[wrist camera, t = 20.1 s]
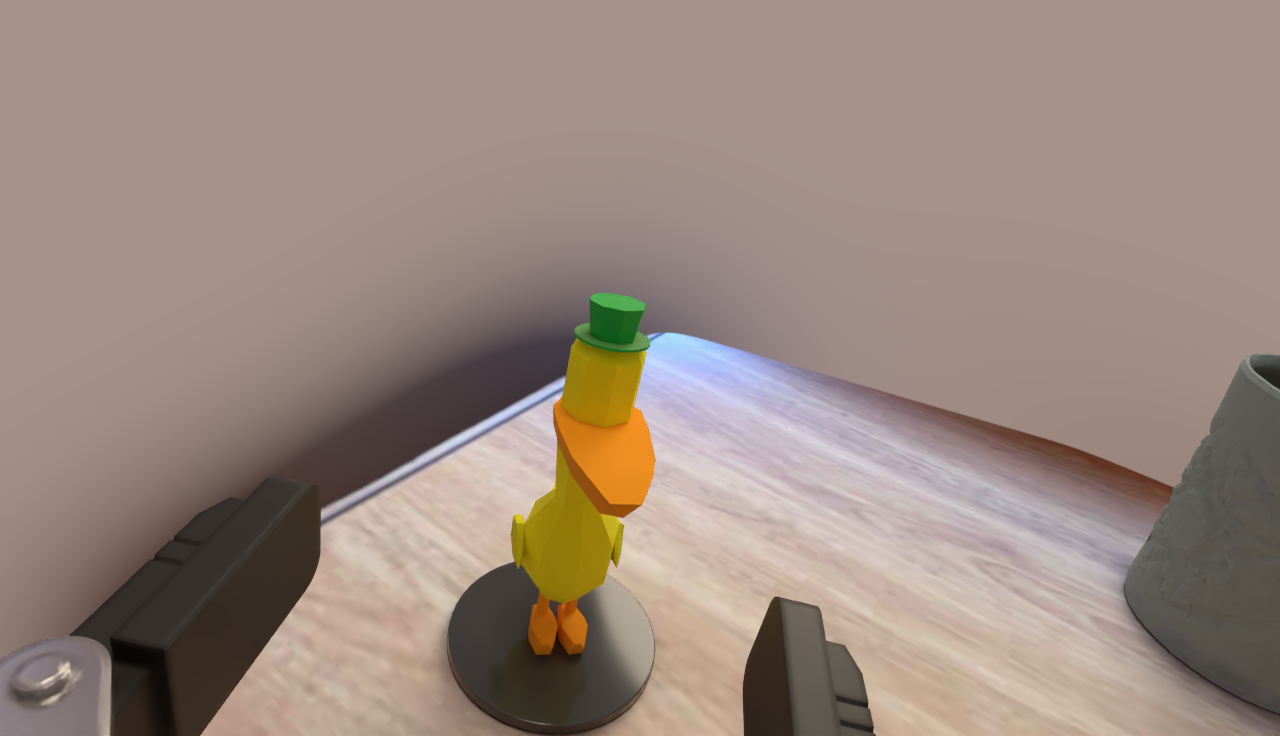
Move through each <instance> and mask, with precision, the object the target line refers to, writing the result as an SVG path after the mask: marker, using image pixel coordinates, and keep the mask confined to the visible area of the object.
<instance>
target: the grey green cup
mask: <svg viewBox="0 0 1280 736" xmlns="http://www.w3.org/2000/svg"><path fill="white" fill-rule="evenodd" d="M1172 493H1173V496H1172V497H1171V499H1170V502H1169V503H1168V504H1166V505H1165V506H1164V508H1163V510H1162V512H1161V515H1162V516H1161V517H1160V518H1159V519H1158V520H1157V521H1156V522H1155V525H1154V529H1153V530H1152V532H1151V534H1150V536H1149V538H1148V539H1147V541H1146V543H1145V544H1144V545H1143V546H1142V548H1141V550H1140V551H1139V553H1138V555H1137V557H1136V558H1135V560H1134V562H1133V563H1132V565H1131V567H1130V569H1129V571H1128V573H1127V577H1126V581H1125V593H1126V597H1127V600H1128V602H1129V605H1130V607H1131V608H1132V610H1133V611H1134V613H1135V615H1136V616H1137V618H1138V619H1139V620H1140V621H1141V623H1142V624H1143V625H1144V626H1145V628H1146V629H1147V630H1148V631H1149V632H1150V633H1151V634H1152V635H1153V636H1154V637H1155V638H1156V639H1157V640H1158V641H1159V642H1160V643H1161V644H1162V645H1163V646H1164V647H1165V648H1167V649H1168V650H1169V651H1170V652H1171V653H1172V654H1173V655H1175V656H1176V657H1177V658H1179V659H1180V660H1181V661H1182V662H1184V663H1185V664H1186V665H1188V666H1189V667H1190V668H1192V669H1193V670H1195V671H1196V672H1197V673H1199V674H1200V675H1202V676H1203V677H1205V678H1206V679H1208V680H1210V681H1211V682H1213V683H1214V684H1216V685H1218V686H1219V687H1221V688H1223V689H1225V690H1227V691H1228V692H1230V693H1232V694H1234V695H1236V696H1238V697H1240V698H1241V699H1244V700H1246V701H1248V702H1250V703H1252V704H1255V705H1257V706H1259V707H1262V708H1264V709H1267V710H1270V711H1272V712H1275V713H1278V714H1280V354H1271V353H1267V354H1253V355H1250V356H1248V357H1246V358H1245V359H1244V360H1243V361H1242V363H1241V364H1240V366H1239V368H1238V370H1237V372H1236V374H1235V376H1234V378H1233V380H1232V382H1231V384H1230V386H1229V388H1228V390H1227V392H1226V394H1225V396H1224V398H1223V400H1222V402H1221V404H1220V406H1219V408H1218V410H1217V412H1216V413H1215V415H1214V417H1213V419H1212V422H1211V427H1210V435H1208V436H1206V437H1205V438H1204V439H1203V440H1202V441H1201V445H1200V446H1199V447H1198V448H1197V450H1196V451H1195V453H1194V455H1193V457H1192V459H1191V462H1190V463H1189V464H1188V465H1187V467H1186V468H1185V470H1184V472H1183V474H1182V481H1181V483H1180V484H1178V485H1176V486H1175V488H1174V489H1173V491H1172Z"/></svg>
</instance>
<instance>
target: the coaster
mask: <svg viewBox="0 0 1280 736" xmlns="http://www.w3.org/2000/svg"><path fill="white" fill-rule="evenodd" d="M539 591H540V590H539V589H538V588H537V586H536V585H535V583H534V582H533V580H532V579H531V577H530V576H529V574H528V573H527V572H526V570H525V569H524V567H523V566H522V564H521V565H520V567H519V569H518V568H517V566H516V563H515V562H512V563H509V564H506V565H503V566H500V567H498V568H496V569H494V570H492V571H490V572H488V573H486V574H485V575H483V576H482V577H480V578H479V579H478V580H477V581H475V582H474V583H473V584H472V585H471V586H470V587H469V588H468V589H467V590H466V591H465V592H464V593H463V595H462V596H461V598H460V599H459V601H458V602H457V604H456V606H455V608H454V611H453V613H452V616H451V619H450V623H449V630H448V639H447V646H448V656H449V660H450V665H451V667H452V670H453V672H454V675H455V677H456V679H457V680H458V682H459V684H460V685H461V687H462V688H463V690H464V691H465V692H466V693H467V695H468V696H469V697H470V698H471V699H472V700H473V701H474V702H475V703H476V704H477V705H478V706H479V707H480V708H482V709H483V710H485V711H486V712H487V713H489V714H490V715H492V716H493V717H495V718H497V719H499V720H501V721H503V722H505V723H507V724H510V725H512V726H515V727H518V728H520V729H525V730H529V731H533V732H539V733H548V734H566V733H574V732H581V731H585V730H588V729H592V728H595V727H598V726H600V725H603V724H605V723H607V722H609V721H611V720H612V719H614V718H616V717H618V716H619V715H620V714H622V713H623V712H624V711H625V710H627V709H628V708H629V707H630V706H631V705H632V704H633V703H634V702H635V701H636V700H637V699H638V697H639V696H640V694H641V693H642V691H643V690H644V688H645V686H646V684H647V682H648V679H649V677H650V674H651V670H652V667H653V663H654V656H655V640H654V635H653V630H652V627H651V624H650V621H649V619H648V617H647V615H646V613H645V611H644V609H643V608H642V606H641V605H640V603H639V602H638V600H637V599H636V598H635V597H634V596H633V595H632V594H631V592H630V591H628V590H627V589H626V588H625V587H624V586H623V585H622V584H620V583H619V582H618V581H616V580H615V579H613V578H612V577H610V576H609V575H607V574H606V577H605V580H604V584H602V585H600V586H599V587H597V588H595V589H594V590H592V591H590V592H588V593H587V594H585V595H583V596H582V597H580V598H578V603H577V607H576V608H577V609H578V610H579V611H580V613H581V614H582V615H583V616H584V618H585V620H586V623H587V625H588V626H587V633H586V639H585V646H584V650H583V652H582V653H580V654H570V655H568V653H567V652H566V650H565V649H564V647H563V646H562V644H561V643H560V642H559V638H558V634H557V633H556V638H555V642H554V645H553V648H552V651H551V654H550V655H536V654H535V652H534V650H533V648H532V646H531V644H530V642H529V637H528V629H529V623H530V617H531V611H532V605H534V604H537V601H538V596H539ZM561 604H563V603H560V602H556V601H552V600H550V601H549V608H550V610H551V611H552V613H553V614H554V616H555V618H556V621H557V608H558V605H561ZM564 604H565V603H564Z"/></svg>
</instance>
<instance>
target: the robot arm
mask: <svg viewBox="0 0 1280 736" xmlns="http://www.w3.org/2000/svg"><path fill="white" fill-rule="evenodd" d="M320 527H321V494H320V489H319V487H318V486H316V485H313V484H309V483H304V482H301V481H296V480H292V479H288V478H284V477H279V476H275V475H273V476H270V477H268V478H267V479H266V480H264V481H263V482H262V483H261V484H260V486H258V488H256V490H255V491H254V492H252V494H251V495H250V496H249V497H248V498H247V499H246V500H245V501H244V500H240V499H236V498H232V497H230V498H229V499H226V500H225V501H222V502H220V503H218V504H216V505H215V506H213V507H211V508H209V509H207V510H205V511H203V512H201V513H199V514H197V515H196V516H195V517H194V518H193V519H192V520H191V521H190V522H189V523H188V524H187V525H186V526H185V527H184V528H183V529H182V530H181V531H179V532H178V533H177V534H176V535H175V537H174V540H173V541H169V542H168V543H167V544H166V545H165V546H164V547H163V548H161V550H159V551H158V552H157V553H156V554H155V558H154V559H153V560H149V561H148V562H147V563H146V564H145V565H144V566H143V567H142V568H140V569H139V570H138V571H137V572H136V573H135V574H134V575H133V576H132V577H131V578H130V579H129V580H128V581H127V582H126V583H125V584H123V585H122V586H121V587H120V588H119V589H118V590H117V591H116V592H115V593H114V594H113V595H112V596H111V597H110V598H109V599H108V600H107V601H105V603H103V604H102V605H101V606H100V607H99V608H98V609H97V610H96V611H95V612H94V613H93V614H92V615H91V616H90V617H89V618H88V619H87V620H85V621H84V622H83V623H82V624H81V625H80V626H79V627H78V628H77V629H76V630H75V631H74V632H72V633H71V634H70V635H69V636H59V637H53V638H47V639H44V640H40V641H37V642H34V643H31V644H28V645H26V646H24V647H21V648H19V649H17V650H15V651H13V652H11V653H10V654H8V655H6V656H5V657H3V658H1V659H0V736H200V735H201V734H202V732H203V731H204V730H205V728H206V727H207V725H208V724H209V723H210V721H211V720H212V719H213V717H214V716H215V714H216V713H217V712H218V710H219V709H220V708H221V706H222V705H223V703H224V702H225V701H226V699H227V698H228V697H229V695H230V694H231V692H232V691H233V690H234V688H235V687H236V686H237V684H238V683H239V681H240V680H241V679H242V677H243V676H244V675H245V673H246V672H247V670H248V669H249V668H250V666H251V665H252V664H253V662H254V661H255V659H256V658H257V657H258V655H259V654H260V653H261V651H262V650H263V648H264V647H265V646H266V644H267V643H268V642H269V640H270V639H271V637H272V636H273V635H274V633H275V632H276V631H277V629H278V628H279V626H280V625H281V624H282V622H283V621H284V620H285V618H286V617H287V615H288V614H289V613H290V611H291V610H292V609H293V607H294V606H295V604H296V603H297V602H298V600H299V599H300V598H301V596H302V595H303V593H304V592H305V591H306V589H307V588H308V586H309V584H310V583H311V581H312V579H313V577H314V574H315V572H316V569H317V566H318V562H319V558H320ZM743 716H744V736H876V735H875V734H873V729H874V726H873V722H872V717H871V712H870V709H868V699H867V694H866V689H865V685H864V680H863V675H862V673H861V671H860V669H859V668H858V666H857V665H856V663H855V661H854V660H853V658H852V656H851V655H850V653H849V652H848V650H847V648H846V647H845V645H842V644H838V643H833V642H829V641H826V638H825V632H824V626H823V620H822V614H821V611H820V609H819V607H817V606H814V605H810V604H806V603H802V602H797V601H793V600H789V599H785V598H781V597H774V598H773V600H772V601H771V603H770V605H769V608H768V610H767V613H766V615H765V618H764V620H763V622H762V625H761V627H760V630H759V632H758V635H757V637H756V640H755V642H754V644H753V647H752V649H751V652H750V654H749V657H748V660H747V664H746V668H745V674H744V681H743Z"/></svg>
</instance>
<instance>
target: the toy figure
mask: <svg viewBox="0 0 1280 736" xmlns="http://www.w3.org/2000/svg"><path fill="white" fill-rule="evenodd" d="M645 308H646V304H644V303H642V302H640V301H638V300H637V299H634V298H632V297H627V296H623V295H618V294H613V293H606V294H605V293H603V294H594V295H593V296H592V297H591V298H590V323H587V324H582V325H579V326H578V327H576V328H575V331H574V333H575V336H576V337H577V339H576V340H575V342H574V344H573V345H572V347H571V353H570V358H569V363H568V369H567V374H566V380H565V385H564V391H563V396H562V397H561V398H560V399H559V400H558V401H557V402H556V403H555V404H554V405H553V422H554V427H555V432H556V436H557V464H556V484H555V486H554V487H553V489H552V491H551V492H549V493H548V494H546V495H545V496H543V497H542V498H540V499H539V500H537V501H536V502H535V504H534V506H533V508H532V510H531V512H530V515H529V517H528V519H527V521H526V523H525V521H524V519H523V517H522V515H519V514H516V515H514V518H513V523H512V531H511V540H512V552H513V557H514V560H515V563H516V566H517V568H518V569H519V567H520V565H521V564H522V566H523V567H524V569H525V570H526V572H527V573H528V574H529V576H530V577H531V579H532V580H533V582H534V583H535V585H536V586H537V588H538V589H539V590H540V591H539V596H538V601H537V604H534V605H532V611H531V617H530V623H529V629H528V637H529V642H530V644H531V646H532V648H533V650H534V652H535V654H536V655H550V654H551V651H552V648H553V645H554V642H555V638H556V633H557V634H558V638H559V642H560V643H561V644H562V646H563V647H564V649H565V650H566V652H567V653H568V655H570V654H580V653H582V652H583V650H584V646H585V639H586V633H587V626H588V625H587V623H586V620H585V618H584V616H583V615H582V614H581V613H580V611H579V610H578V609H577V608H576V607H577V603H578V598H580V597H582V596H583V595H585V594H587V593H588V592H590V591H592V590H594V589H595V588H597V587H599V586H600V585H602V584H604V580H605V577H606V573H607V570H608V566H609V563H610V559H612V561H613V563H614V564H615V566H616V568H617V566H618V563H619V558H620V554H621V546H622V537H623V529H624V525H623V524H621V523H620V521H619V520H618V518H617V517H622V518H624V517H625V516H627V515H628V514H629V513H631V512H632V511H634V510H635V509H637V508H638V507H639V506H641V505H642V504H643V501H644V499H645V497H646V495H647V492H648V489H649V487H650V484H651V482H652V479H653V473H654V465H655V455H654V451H653V446H652V441H651V437H650V432H649V429H648V427H647V424H646V422H645V419H644V417H643V414H642V412H641V410H639V409H637V408H635V407H634V404H635V400H636V395H637V391H638V387H639V383H640V378H641V374H642V370H643V366H644V362H645V357H646V353H647V352H646V351H645V350H647V349H648V348H649V347H650V340H649V338H648V337H647V336H645V335H644V334H642V333H640V332H638V328H639V325H640V322H641V320H642V317H643V314H644V311H645ZM550 600H552V601H556V602H560V603H563V604H561V605H558V608H557V621H556V618H555V616H554V614H553V613H552V611H551V610H550V608H549V601H550ZM564 603H565V604H564Z"/></svg>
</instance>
